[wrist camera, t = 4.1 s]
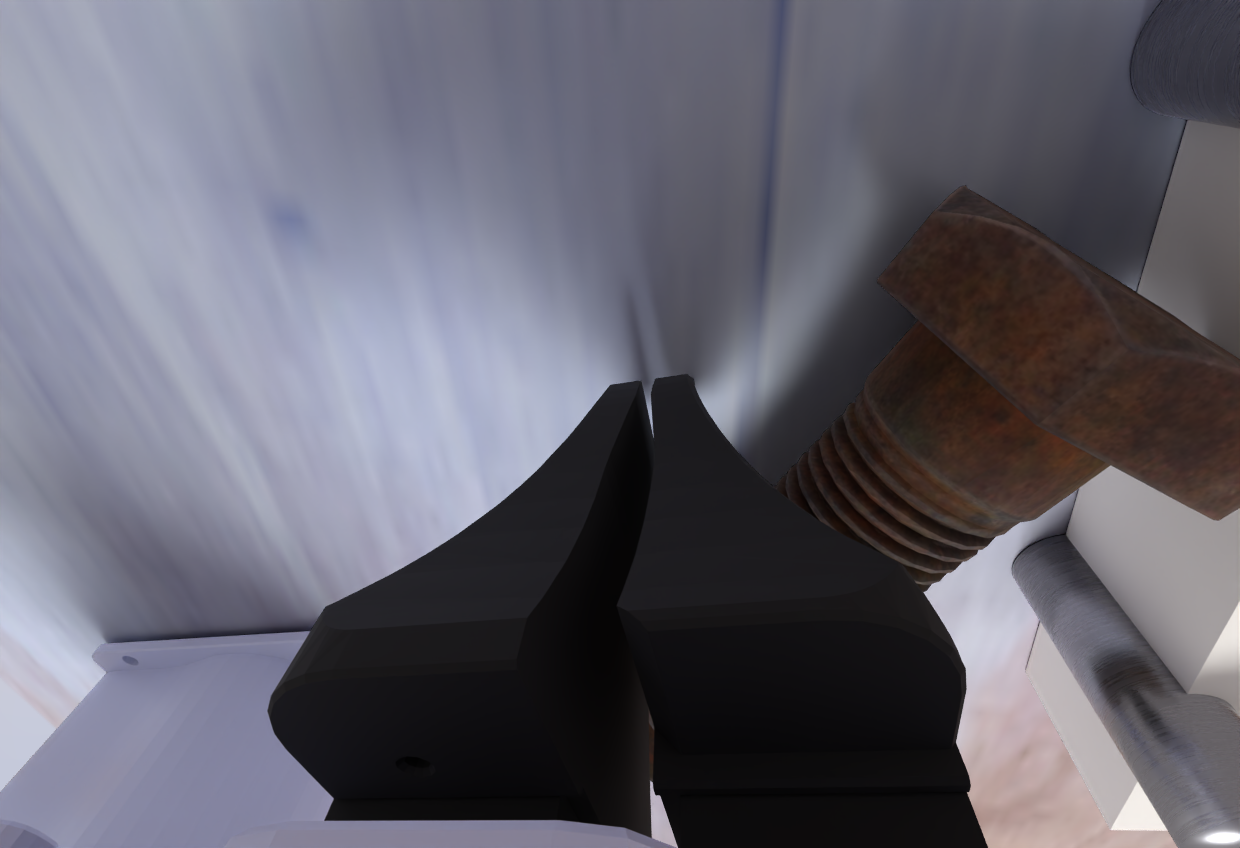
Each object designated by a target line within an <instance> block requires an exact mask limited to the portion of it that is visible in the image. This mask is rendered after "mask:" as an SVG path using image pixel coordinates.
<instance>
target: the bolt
mask: <svg viewBox="0 0 1240 848" xmlns="http://www.w3.org/2000/svg"><path fill="white" fill-rule="evenodd" d="M877 283H878V284H879V285H880V286H881V287H882V288H883V289H885V290H886V291H887V292H888V293H889V294H890V295H891V296H892V297H893V298H895V299H896V300H897V301H898V302H899V303H900V304H901V305H902V306H903V307H905V308H906V309H907V310H908V311H909V312H910V313H911V314H912V315H914V316H915V317H916V318H917V319H918V321H917V322H916V323H915V324H914V325H913V326H912V328H911V329H910V330H909V331H908V332H907V333H906V334H905V335H904V337H903V338H902V339H901V340H900V341H899V342H898V343H897V344H896V345H895V347H894V348H893V349H892V350H891V351H890V352H889V353H888V354H887V356H886V357H885V358H884V359H883V360H882V361H881V362H880V363H879V364H878V366H877V367H876V368H875V369H874V370H873V371H872V372H871V373H870V375H869V376H868V377H867V379H866V381H865V385H864V389H863V390H862V391H861V392H860V393H859V395H858V396H857V397H856V401H855V402H854V403H850V404H849V405H848V406H847V408H846V410H845V412H844V414H842V415H841V416H840V417H839V418H837V419H836V420H835V421H834V422H833V424H832V427H830V428H828V429H827V430H826V431H824V432H823V434H822V436H821V439H819V440H817V441H816V442H815V443H814V444H813V445H812V446H811V447H810V448H809V452H805V453H804V454H803V455H802V456H801V457H800V459H799V462H798V463H797V464H795V465H794V466H792V467H791V468H790V470H789V471H788V474H787V475H785V476H784V477H782V478H781V479H780V480H779V482H778V483H777V485H776V486H774V487H775V488H776V489H777V490H778V491H779V492H780V493H782V494H783V495H784V496H785V497H787V498H788V499H790V500H791V501H792V502H794V503H795V504H797V505H798V506H799V507H801V508H802V509H804V510H805V511H806V512H808V513H809V514H811V515H812V516H813V517H815V518H816V519H818V520H819V521H821V522H823V523H824V524H826V525H827V526H829V527H831V528H832V529H834V530H836V531H837V532H839V533H841V534H843V535H845V536H847V537H849V538H851V539H853V540H855V541H857V542H859V543H861V544H863V545H865V546H867V547H869V548H871V549H873V550H875V551H877V552H879V553H881V554H883V555H885V556H887V557H889V558H892V559H894V560H896V561H898V562H899V563H901V564H902V565H903V566H904V567H905V568H906V570H907V571H908V572H909V574H910V575H911V576H912V578H913V579H914V581H915V582H916V583H917V585H918V586H919V587H920V589H921V590H922V592H925V591H927V590H928V588H929V587H930V586H931V584H932V583H935V582H939V581H940V580H941V579H942V578H943V577H944V576H945V575H946V574H947V573H951V572H952V571H954V570H955V569H956V568H957V567H958V566H959V565H960V564H961V563H962V562H963V561H967V560H969V559H970V558H972V557H973V556H975V555H976V554H977V552H978V550H982V549H984V548H985V547H987V546H988V545H989V544H990V542H991V541H992V540H993V539H994V538H995V537H996V536H999V535H1002V534H1005V533H1006V532H1007V531H1009V530H1010V529H1011V528H1012V527H1014V526H1015V525H1017V524H1018V523H1020V522H1026V521H1031V520H1034V519H1036V518H1038V517H1039V516H1040V515H1042V514H1043V513H1045V512H1046V511H1047V510H1049V509H1050V508H1052V507H1053V506H1054V505H1056V504H1057V503H1059V502H1060V501H1062V500H1063V499H1064V498H1066V497H1067V496H1069V495H1070V494H1071V493H1073V492H1074V491H1076V490H1077V489H1078V488H1080V487H1081V486H1083V485H1084V484H1085V483H1087V482H1088V481H1090V480H1091V479H1092V478H1094V477H1095V476H1097V475H1098V474H1099V473H1101V472H1102V471H1104V470H1105V469H1106V468H1108V467H1109V466H1113V467H1115V468H1116V469H1118V470H1120V471H1122V472H1124V473H1126V474H1128V475H1130V476H1131V477H1133V478H1135V479H1137V480H1139V481H1141V482H1143V483H1144V484H1146V485H1148V486H1150V487H1152V488H1154V489H1156V490H1157V491H1159V492H1161V493H1163V494H1165V495H1167V496H1169V497H1170V498H1172V499H1174V500H1176V501H1178V502H1180V503H1182V504H1184V505H1185V506H1187V507H1189V508H1191V509H1193V510H1195V511H1197V512H1199V513H1201V514H1203V515H1205V516H1206V517H1208V518H1210V519H1212V520H1216V521H1219V520H1221V519H1223V518H1224V517H1226V516H1228V515H1229V514H1231V513H1233V512H1234V511H1236V510H1238V509H1239V508H1240V359H1239V358H1237V357H1236V356H1234V355H1233V354H1231V353H1229V352H1228V351H1226V350H1225V349H1223V348H1222V347H1220V346H1218V345H1217V344H1215V343H1214V342H1212V341H1210V340H1209V339H1207V338H1206V337H1204V336H1202V335H1201V334H1199V333H1198V332H1196V331H1195V330H1193V329H1192V328H1191V327H1189V326H1188V325H1186V324H1185V323H1184V322H1182V321H1181V320H1180V319H1178V318H1177V317H1175V316H1174V315H1172V314H1171V313H1169V312H1168V311H1166V310H1164V309H1163V308H1161V307H1159V306H1158V305H1156V304H1155V303H1153V302H1151V301H1150V300H1148V299H1147V298H1145V297H1143V296H1142V295H1140V294H1138V293H1137V292H1135V291H1134V290H1132V289H1130V288H1129V287H1127V286H1126V285H1124V284H1122V283H1121V282H1119V281H1118V280H1116V279H1114V278H1113V277H1111V276H1109V275H1108V274H1106V273H1105V272H1103V271H1101V270H1100V269H1098V268H1096V267H1095V266H1093V265H1092V264H1090V263H1088V262H1087V261H1085V260H1083V259H1082V258H1080V257H1079V256H1077V255H1075V254H1074V253H1072V252H1070V251H1069V250H1067V249H1065V248H1064V247H1062V246H1061V245H1059V244H1057V243H1056V242H1054V241H1052V240H1051V239H1050V238H1048V237H1047V236H1046V235H1044V234H1043V233H1041V232H1040V231H1039V230H1037V229H1036V228H1034V227H1032V226H1031V225H1029V224H1027V223H1026V222H1024V221H1022V220H1021V219H1019V218H1017V217H1016V216H1014V215H1012V214H1011V213H1009V212H1007V211H1005V210H1004V209H1002V208H1000V207H999V206H997V205H995V204H994V203H992V202H990V201H988V200H987V199H985V198H983V197H982V196H980V195H978V194H976V193H975V192H973V191H971V190H969V189H968V188H967V187H966V185H965V186H962V187H959V188H958V189H957V190H956V191H954V192H953V193H952V194H950V195H949V196H948V197H947V198H946V199H945V200H944V201H943V202H942V203H941V204H940V205H939V206H938V207H937V208H936V209H935V210H934V211H933V213H932V214H931V215H930V216H929V217H928V219H927V220H926V221H925V222H924V223H923V225H922V226H921V227H920V228H919V230H918V231H917V232H916V233H915V234H914V236H913V237H912V238H911V239H910V240H909V242H908V243H907V244H906V245H905V246H904V248H903V249H902V250H901V251H900V252H899V254H898V255H897V256H896V257H895V258H894V260H893V261H892V262H891V263H890V265H889V266H888V267H887V268H886V269H885V271H884V272H883V273H882V274H881V275H880V277H879V278H878V279H877ZM653 758H654V724H653V721H652V718H651V715H650V711H649V764H650V781H652V782H653Z"/></svg>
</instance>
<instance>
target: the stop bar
mask: <svg viewBox="0 0 1240 848" xmlns="http://www.w3.org/2000/svg"><path fill="white" fill-rule="evenodd" d="M1131 81H1132V86H1133V89H1134V92H1135V94H1136V96H1137V98H1138V100H1139V101H1140V102H1141V103H1142V105H1144V106H1145V107H1146V108H1147V109H1149V110H1151V111H1152V112H1154V113H1157V114H1160V115H1164V116H1170V117H1175V118H1181V119H1187V120H1188V121H1187V124H1186V127H1185V131H1184V134H1183V138H1182V141H1181V144H1180V148H1179V151H1178V155H1177V158H1176V161H1175V165H1174V168H1173V172H1172V175H1171V178H1170V182H1169V185H1168V189H1167V192H1166V195H1165V199H1164V202H1163V206H1162V209H1161V212H1160V216H1159V219H1158V223H1157V226H1156V229H1155V233H1154V236H1153V240H1152V243H1151V246H1150V250H1149V253H1148V257H1147V260H1146V263H1145V267H1144V270H1143V274H1142V277H1141V280H1140V284H1139V287H1138V291H1137V293H1138V294H1140V295H1142V296H1143V297H1145V298H1147V299H1148V300H1150V301H1151V302H1153V303H1155V304H1156V305H1158V306H1159V307H1161V308H1163V309H1164V310H1166V311H1168V312H1169V313H1171V314H1172V315H1174V316H1175V317H1177V318H1178V319H1180V320H1181V321H1182V322H1184V323H1185V324H1186V325H1188V326H1189V327H1191V328H1192V329H1193V330H1195V331H1196V332H1198V333H1199V334H1201V335H1202V336H1204V337H1206V338H1207V339H1209V340H1210V341H1212V342H1214V343H1215V344H1217V345H1218V346H1220V347H1222V348H1223V349H1225V350H1226V351H1228V352H1229V353H1231V354H1233V355H1234V356H1236V357H1237V358H1239V359H1240V0H1163V1H1162V2H1161V3H1160V4H1159V6H1158V7H1157V8H1156V9H1155V11H1154V12H1153V13H1152V15H1151V17H1150V18H1149V20H1148V21H1147V23H1146V25H1145V26H1144V28H1143V30H1142V32H1141V34H1140V36H1139V39H1138V41H1137V44H1136V47H1135V50H1134V53H1133V58H1132V64H1131ZM1012 575H1013V578H1014V579H1015V581H1016V583H1017V584H1018V586H1019V588H1020V589H1021V591H1022V592H1023V594H1024V596H1025V597H1026V599H1027V601H1028V602H1029V604H1030V606H1031V607H1032V609H1033V610H1034V612H1035V614H1036V615H1037V617H1038V619H1039V620H1040V624H1039V627H1038V631H1037V634H1036V637H1035V641H1034V644H1033V648H1032V651H1031V654H1030V658H1029V661H1028V665H1027V668H1026V671H1025V673H1026V674H1027V676H1028V678H1029V680H1030V682H1031V684H1032V686H1033V687H1034V689H1035V691H1036V693H1037V695H1038V697H1039V699H1040V700H1041V702H1042V704H1043V706H1044V708H1045V710H1046V712H1047V713H1048V715H1049V717H1050V719H1051V721H1052V723H1053V725H1054V726H1055V728H1056V730H1057V732H1058V734H1059V736H1060V738H1061V739H1062V741H1063V743H1064V745H1065V747H1066V749H1067V751H1068V752H1069V754H1070V756H1071V758H1072V760H1073V762H1074V764H1075V765H1076V767H1077V769H1078V771H1079V773H1080V775H1081V777H1082V778H1083V780H1084V782H1085V784H1086V786H1087V788H1088V790H1089V791H1090V793H1091V795H1092V797H1093V799H1094V801H1095V803H1096V804H1097V806H1098V808H1099V810H1100V812H1101V814H1102V816H1103V817H1104V819H1105V821H1106V823H1107V825H1108V827H1109V829H1110V830H1168V832H1169V834H1170V835H1171V837H1172V838H1173V840H1174V842H1175V843H1176V845H1177V847H1178V848H1240V508H1239V509H1238V510H1236V511H1234V512H1233V513H1231V514H1229V515H1228V516H1226V517H1224V518H1223V519H1221V520H1219V521H1216V520H1212V519H1210V518H1208V517H1206V516H1205V515H1203V514H1201V513H1199V512H1197V511H1195V510H1193V509H1191V508H1189V507H1187V506H1185V505H1184V504H1182V503H1180V502H1178V501H1176V500H1174V499H1172V498H1170V497H1169V496H1167V495H1165V494H1163V493H1161V492H1159V491H1157V490H1156V489H1154V488H1152V487H1150V486H1148V485H1146V484H1144V483H1143V482H1141V481H1139V480H1137V479H1135V478H1133V477H1131V476H1130V475H1128V474H1126V473H1124V472H1122V471H1120V470H1118V469H1116V468H1115V467H1113V466H1109V467H1108V468H1106V469H1105V470H1104V471H1102V472H1101V473H1099V474H1098V475H1097V476H1095V477H1094V478H1092V479H1091V480H1090V481H1088V482H1087V483H1085V484H1084V485H1083V486H1081V487H1080V488H1079V491H1078V495H1077V498H1076V501H1075V505H1074V508H1073V512H1072V515H1071V518H1070V522H1069V525H1068V529H1067V532H1066V535H1061V536H1055V537H1051V538H1047V539H1044V540H1042V541H1039V542H1037V543H1035V544H1033V545H1031V546H1030V547H1028V548H1027V549H1025V550H1024V551H1023V552H1022V553H1021V554H1020V555H1019V556H1018V557H1017V559H1016V560H1015V562H1014V564H1013V567H1012Z"/></svg>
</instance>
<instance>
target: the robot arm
mask: <svg viewBox="0 0 1240 848" xmlns="http://www.w3.org/2000/svg"><path fill="white" fill-rule="evenodd" d="M651 404H652V419H653V433H654V438H653V434H652V429H651V424H650V419H649V415H648V410H647V405H646V401H645V396H644V391H643V386H642V382H641V381H634V382H627V383H620V384H613V385H610V386H609V387H608V388H607V390H606V391H605V392H604V393H603V395H602V396H601V397H600V398H599V400H598V401H597V402H596V403H595V405H594V406H593V407H592V409H591V410H590V411H589V412H588V414H587V415H586V416H585V417H584V419H583V420H582V421H581V422H580V424H579V425H578V426H577V427H576V428H575V430H574V431H573V432H572V433H571V434H570V436H569V437H568V438H567V439H566V440H565V441H564V442H563V443H562V444H561V446H560V447H559V448H558V449H557V450H556V451H555V452H554V453H553V454H552V455H551V456H550V457H549V458H548V459H547V460H546V462H545V463H544V464H543V465H542V466H541V467H540V468H539V469H538V470H537V471H536V472H535V473H534V474H533V475H532V476H531V477H530V478H528V479H527V480H526V481H525V482H524V483H523V484H522V485H521V486H520V487H518V488H517V489H516V490H515V491H514V492H513V493H511V494H510V495H509V496H508V497H507V498H506V499H504V500H503V501H502V502H501V503H500V504H498V505H497V506H496V507H494V508H493V509H492V510H490V511H489V512H488V513H486V514H485V515H483V516H482V517H481V518H479V519H478V520H477V521H475V522H474V523H472V524H471V525H470V526H468V527H467V528H466V529H464V530H463V531H461V532H460V533H459V534H457V535H456V536H454V537H453V538H451V539H450V540H448V541H447V542H445V543H443V544H442V545H440V546H439V547H437V548H436V549H434V550H432V551H431V552H429V553H427V554H426V555H424V556H422V557H421V558H419V559H417V560H416V561H414V562H412V563H410V564H409V565H407V566H405V567H403V568H402V569H400V570H398V571H396V572H394V573H393V574H391V575H389V576H387V577H385V578H383V579H381V580H379V581H377V582H375V583H373V584H371V585H369V586H367V587H365V588H363V589H361V590H359V591H357V592H355V593H353V594H351V595H349V596H347V597H345V598H343V599H341V600H339V601H337V602H335V603H333V604H331V605H328V606H326V607H325V609H324V610H323V612H322V613H321V615H320V616H319V618H318V620H317V621H316V623H315V625H314V626H313V628H312V629H311V631H303V632H287V633H271V634H254V635H238V636H221V637H205V638H189V639H172V640H156V641H140V642H123V643H107V644H102V645H100V646H99V647H98V649H97V650H96V651H95V652H94V653H93V654H92V658H93V660H94V661H95V663H97V664H98V665H99V666H100V667H101V668H102V669H103V670H105V671H106V672H107V673H106V674H105V675H104V677H103V678H102V679H101V680H100V681H99V682H98V683H97V684H96V686H95V687H94V688H93V689H92V690H91V691H90V692H89V693H88V694H87V696H86V697H85V698H84V699H83V700H82V701H81V702H80V703H79V705H78V706H77V707H76V708H75V709H74V710H73V711H72V712H71V714H70V715H69V716H68V717H67V718H66V719H65V720H64V721H63V722H62V724H61V725H60V726H59V727H58V728H57V729H56V730H55V731H54V733H53V734H52V735H51V736H50V737H49V738H48V739H47V740H46V741H45V743H44V744H43V745H42V746H41V747H40V748H39V750H38V751H37V752H36V753H35V754H34V755H33V756H32V757H31V758H30V759H29V761H28V762H27V763H26V764H25V765H24V766H23V767H22V768H21V769H20V771H19V772H18V773H17V774H16V775H15V776H14V777H13V778H12V779H11V781H10V782H9V783H8V784H7V785H6V786H5V787H4V788H3V790H2V791H1V792H0V848H676V847H673V846H671V845H668V844H666V843H663V842H660V841H658V840H655V839H652V834H651V805H650V764H649V711H650V715H651V718H652V721H653V724H654V758H653V788H654V792H655V795H660V796H661V799H662V802H663V805H664V808H665V811H666V813H667V816H668V819H669V822H670V825H671V828H672V831H673V834H674V837H675V840H676V843H677V846H678V848H988V846H987V844H986V841H985V838H984V836H983V833H982V831H981V828H980V825H979V823H978V820H977V818H976V815H975V812H974V810H973V807H972V805H971V802H970V799H969V797H968V794H967V792H969V791H970V787H971V784H970V779H969V775H968V772H967V770H966V767H965V764H964V762H963V759H962V757H961V754H960V752H959V749H958V747H957V744H956V739H957V734H958V729H959V724H960V719H961V714H962V709H963V704H964V699H965V694H966V668H965V666H964V664H963V662H962V660H961V658H960V655H959V652H958V650H957V648H956V646H955V644H954V642H953V640H952V638H951V636H950V634H949V632H948V631H947V629H946V627H945V626H944V624H943V622H942V621H941V619H940V618H939V616H938V614H937V613H936V611H935V610H934V608H933V607H932V605H931V604H930V602H929V601H928V599H927V597H926V596H925V594H924V593H923V592H922V590H921V589H920V587H919V586H918V585H917V583H916V582H915V581H914V579H913V578H912V576H911V575H910V574H909V572H908V571H907V570H906V568H905V567H904V566H903V565H902V564H901V563H899V562H898V561H896V560H894V559H892V558H889V557H887V556H885V555H883V554H881V553H879V552H877V551H875V550H873V549H871V548H869V547H867V546H865V545H863V544H861V543H859V542H857V541H855V540H853V539H851V538H849V537H847V536H845V535H843V534H841V533H839V532H837V531H836V530H834V529H832V528H831V527H829V526H827V525H826V524H824V523H823V522H821V521H819V520H818V519H816V518H815V517H813V516H812V515H811V514H809V513H808V512H806V511H805V510H804V509H802V508H801V507H799V506H798V505H797V504H795V503H794V502H792V501H791V500H790V499H788V498H787V497H785V496H784V495H783V494H782V493H780V492H779V491H778V490H777V489H776V488H775V487H773V486H772V485H771V484H770V483H769V482H768V481H766V480H765V479H764V478H763V477H762V476H761V475H760V474H759V473H758V472H757V471H756V470H755V469H754V468H753V467H751V466H750V465H749V463H748V462H747V461H746V460H745V459H744V458H743V457H742V456H741V455H740V454H739V453H738V452H737V450H736V449H735V448H734V447H733V446H732V445H731V443H730V442H729V441H728V440H727V439H726V437H725V436H724V435H723V433H722V432H721V431H720V429H719V428H718V427H717V425H716V424H715V422H714V421H713V419H712V418H711V416H710V415H709V413H708V412H707V410H706V408H705V407H704V405H703V403H702V401H701V399H700V397H699V395H698V393H697V391H696V388H695V383H694V379H693V378H692V377H691V376H689V375H688V374H684V375H677V376H670V377H663V378H656V379H655V381H654V384H653V387H652V391H651Z"/></svg>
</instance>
